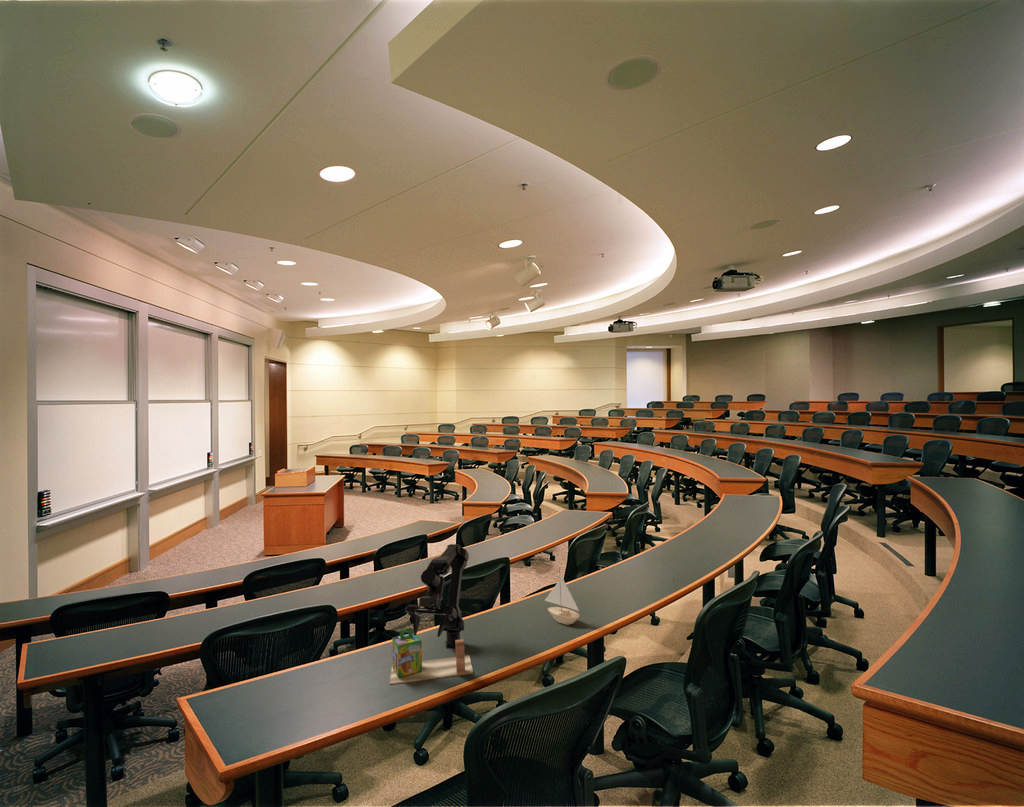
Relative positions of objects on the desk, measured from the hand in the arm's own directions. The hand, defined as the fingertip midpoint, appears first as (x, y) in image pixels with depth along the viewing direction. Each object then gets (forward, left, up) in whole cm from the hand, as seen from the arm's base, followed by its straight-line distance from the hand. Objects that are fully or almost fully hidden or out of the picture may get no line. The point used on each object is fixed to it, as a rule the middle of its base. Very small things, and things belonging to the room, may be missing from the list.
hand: (426, 636), depth 176 cm
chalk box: (-7, -7, -15) cm, 18 cm away
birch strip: (-6, +2, -15) cm, 16 cm away
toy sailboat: (-37, +62, -15) cm, 74 cm away
